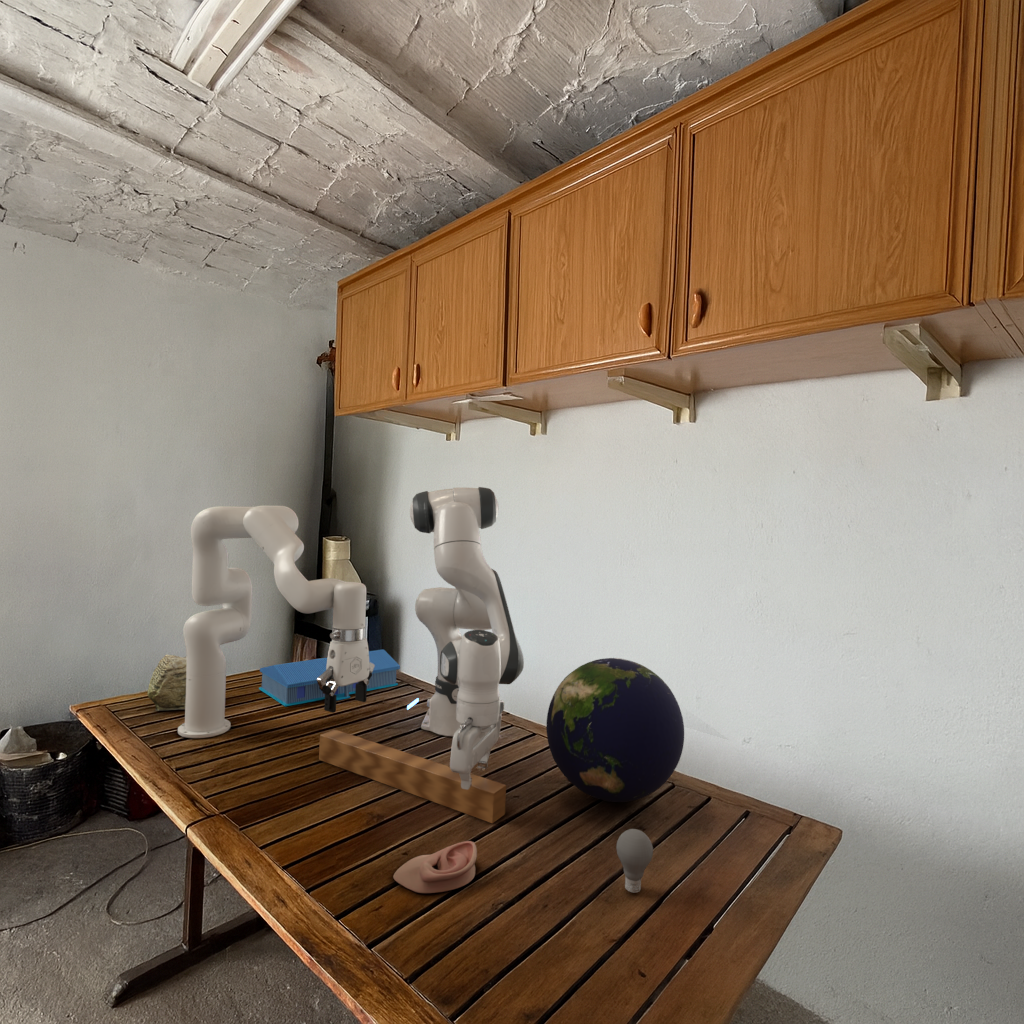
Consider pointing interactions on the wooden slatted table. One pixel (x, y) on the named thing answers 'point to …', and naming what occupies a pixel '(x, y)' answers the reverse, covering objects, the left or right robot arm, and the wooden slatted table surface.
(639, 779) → the globe
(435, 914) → the wooden slatted table surface
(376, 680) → the model building
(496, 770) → the wooden slatted table surface
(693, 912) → the wooden slatted table surface
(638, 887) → the light bulb
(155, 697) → the fossil
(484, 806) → the bar
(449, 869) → the anatomical model
